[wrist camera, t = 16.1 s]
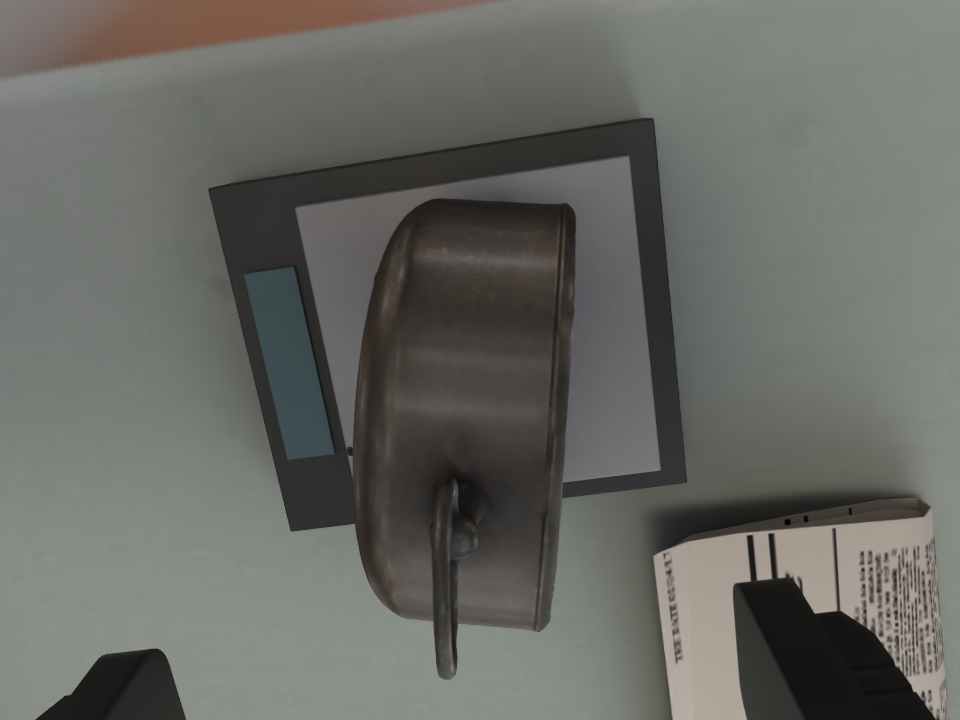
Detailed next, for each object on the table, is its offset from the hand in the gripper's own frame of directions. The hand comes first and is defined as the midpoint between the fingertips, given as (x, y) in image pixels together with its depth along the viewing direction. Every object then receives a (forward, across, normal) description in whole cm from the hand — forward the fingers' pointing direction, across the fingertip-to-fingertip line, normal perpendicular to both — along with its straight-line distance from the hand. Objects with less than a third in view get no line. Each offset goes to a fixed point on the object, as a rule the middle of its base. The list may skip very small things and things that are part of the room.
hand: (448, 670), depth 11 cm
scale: (+20, +1, 0) cm, 21 cm away
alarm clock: (+18, 0, 0) cm, 18 cm away
